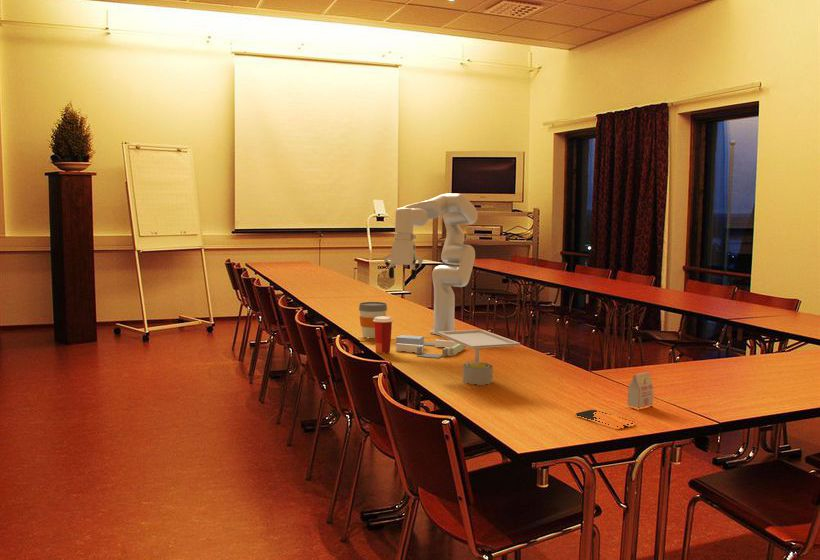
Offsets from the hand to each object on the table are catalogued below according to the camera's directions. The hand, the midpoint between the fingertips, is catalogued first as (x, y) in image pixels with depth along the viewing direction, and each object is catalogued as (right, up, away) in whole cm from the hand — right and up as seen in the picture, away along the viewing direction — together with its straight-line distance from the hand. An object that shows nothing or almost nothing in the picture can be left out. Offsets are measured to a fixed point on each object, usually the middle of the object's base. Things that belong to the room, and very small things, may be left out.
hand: (402, 278), depth 298 cm
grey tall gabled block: (+70, -38, -90) cm, 120 cm away
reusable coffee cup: (-13, -26, +21) cm, 36 cm away
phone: (+56, -39, -104) cm, 125 cm away
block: (+3, -29, -5) cm, 30 cm away
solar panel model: (+25, -35, -61) cm, 74 cm away
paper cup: (-8, -30, -13) cm, 33 cm away
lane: (+12, -29, -8) cm, 32 cm away
